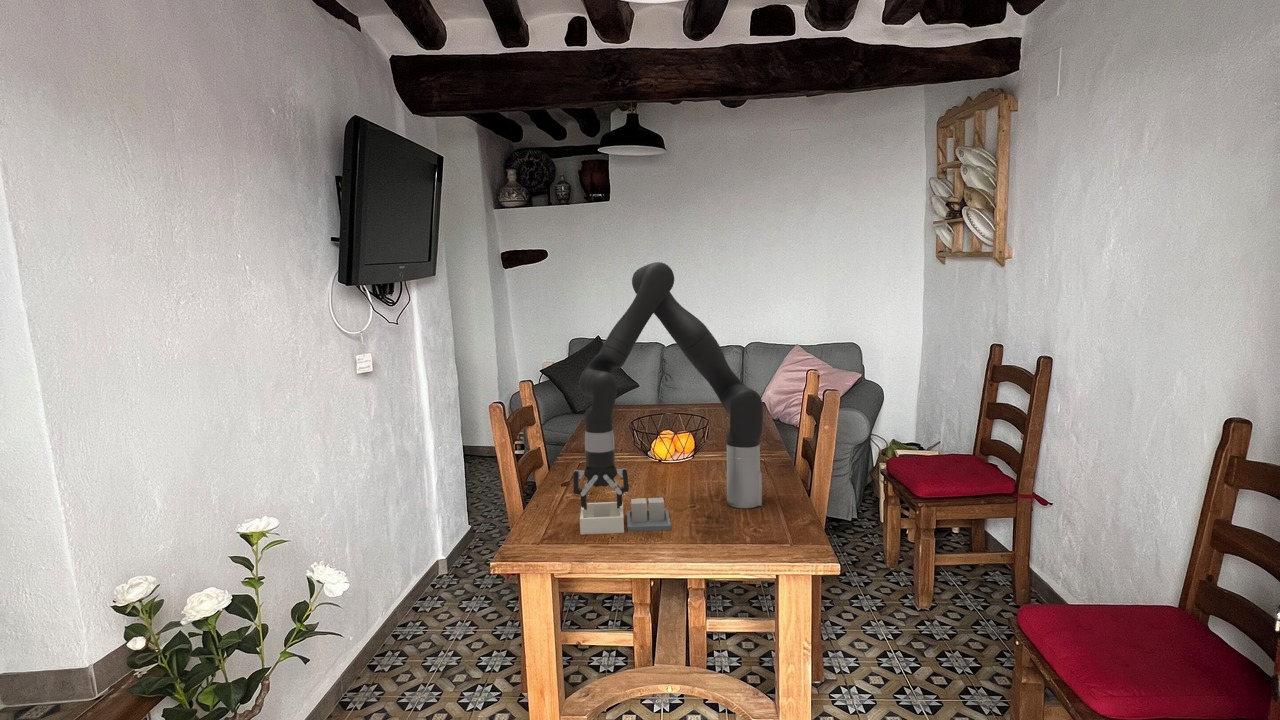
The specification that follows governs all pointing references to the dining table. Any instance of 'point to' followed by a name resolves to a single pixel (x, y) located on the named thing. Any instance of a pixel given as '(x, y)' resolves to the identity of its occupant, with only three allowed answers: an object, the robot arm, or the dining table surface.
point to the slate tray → (648, 523)
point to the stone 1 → (601, 510)
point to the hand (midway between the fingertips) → (601, 508)
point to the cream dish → (602, 520)
